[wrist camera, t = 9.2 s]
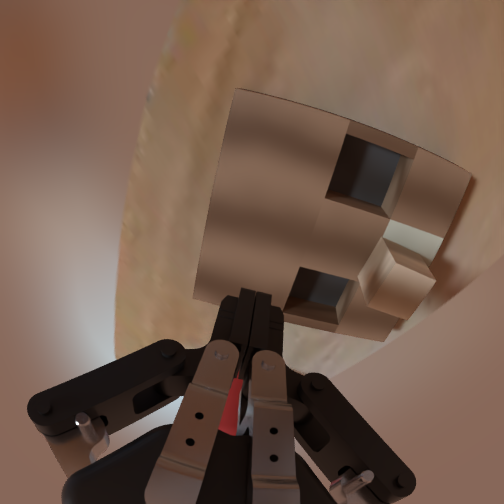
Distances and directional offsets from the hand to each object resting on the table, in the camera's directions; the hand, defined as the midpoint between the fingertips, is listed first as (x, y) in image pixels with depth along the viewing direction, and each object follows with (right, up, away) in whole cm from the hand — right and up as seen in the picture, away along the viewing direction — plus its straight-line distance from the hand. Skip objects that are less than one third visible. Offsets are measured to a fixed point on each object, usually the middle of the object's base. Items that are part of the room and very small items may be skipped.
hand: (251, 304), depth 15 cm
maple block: (+11, +1, +9) cm, 15 cm away
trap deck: (+6, +5, +11) cm, 14 cm away
